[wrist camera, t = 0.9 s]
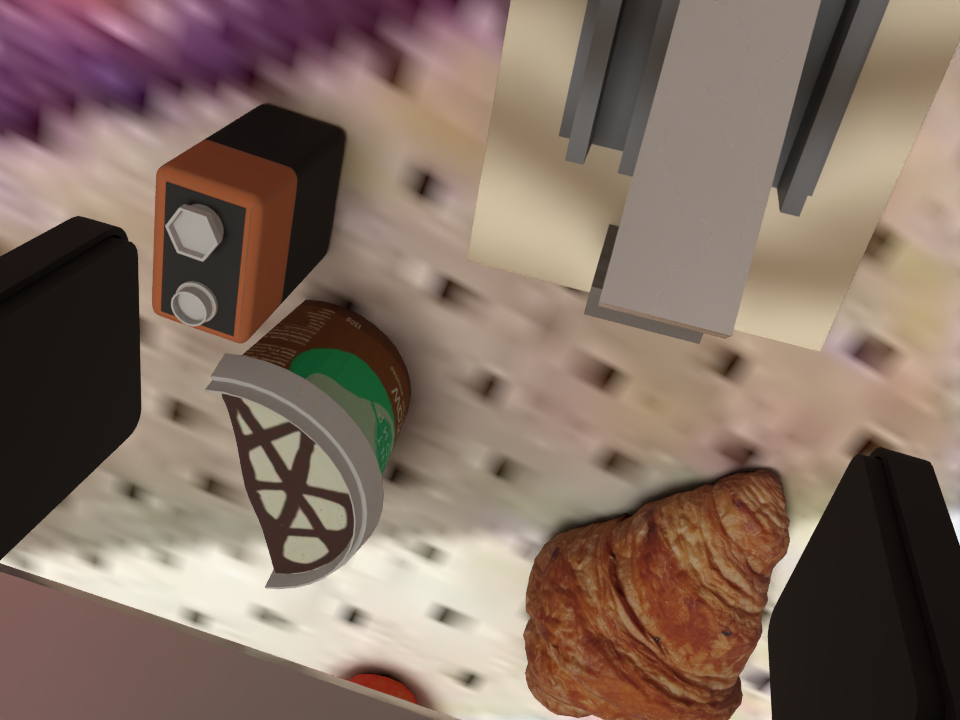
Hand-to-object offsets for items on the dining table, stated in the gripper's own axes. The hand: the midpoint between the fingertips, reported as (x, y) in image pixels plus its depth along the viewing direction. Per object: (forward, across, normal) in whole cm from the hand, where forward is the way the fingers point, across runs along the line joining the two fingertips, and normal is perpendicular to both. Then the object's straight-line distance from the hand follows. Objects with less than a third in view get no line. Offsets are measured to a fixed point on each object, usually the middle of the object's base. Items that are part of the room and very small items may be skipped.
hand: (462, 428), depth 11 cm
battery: (+28, +14, +10) cm, 33 cm away
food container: (+29, +9, +20) cm, 36 cm away
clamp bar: (+18, -3, -3) cm, 18 cm away
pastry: (+30, -8, +28) cm, 42 cm away
